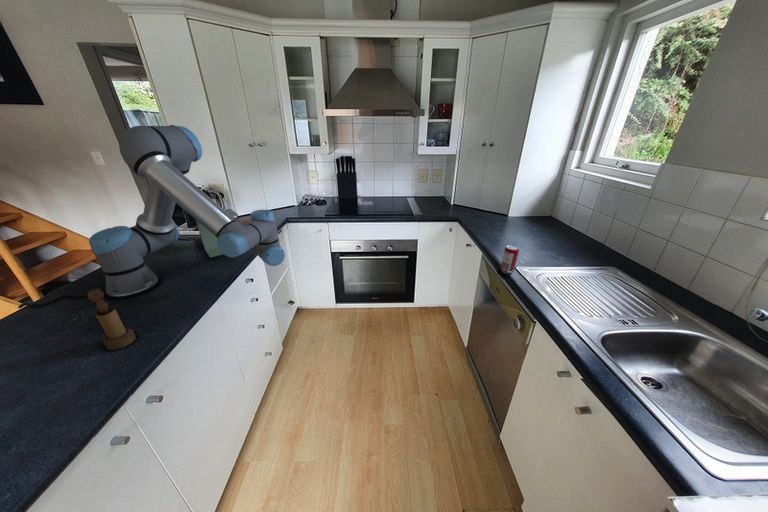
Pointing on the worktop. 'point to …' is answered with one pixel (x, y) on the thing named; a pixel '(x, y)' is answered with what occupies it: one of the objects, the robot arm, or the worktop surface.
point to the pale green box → (212, 237)
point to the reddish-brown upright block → (244, 222)
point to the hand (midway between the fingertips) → (242, 228)
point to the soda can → (509, 258)
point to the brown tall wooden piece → (111, 323)
